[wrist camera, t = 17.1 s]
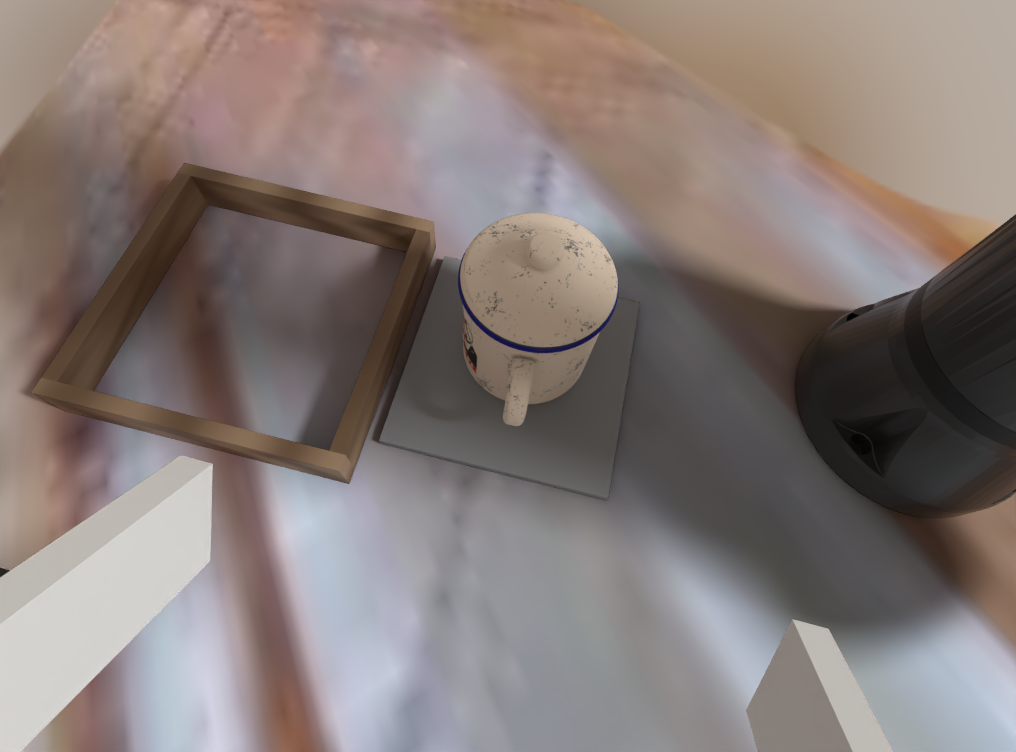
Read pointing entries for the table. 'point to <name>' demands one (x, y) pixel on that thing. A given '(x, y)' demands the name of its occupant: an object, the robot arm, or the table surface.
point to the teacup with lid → (533, 307)
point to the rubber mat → (479, 415)
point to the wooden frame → (149, 262)
